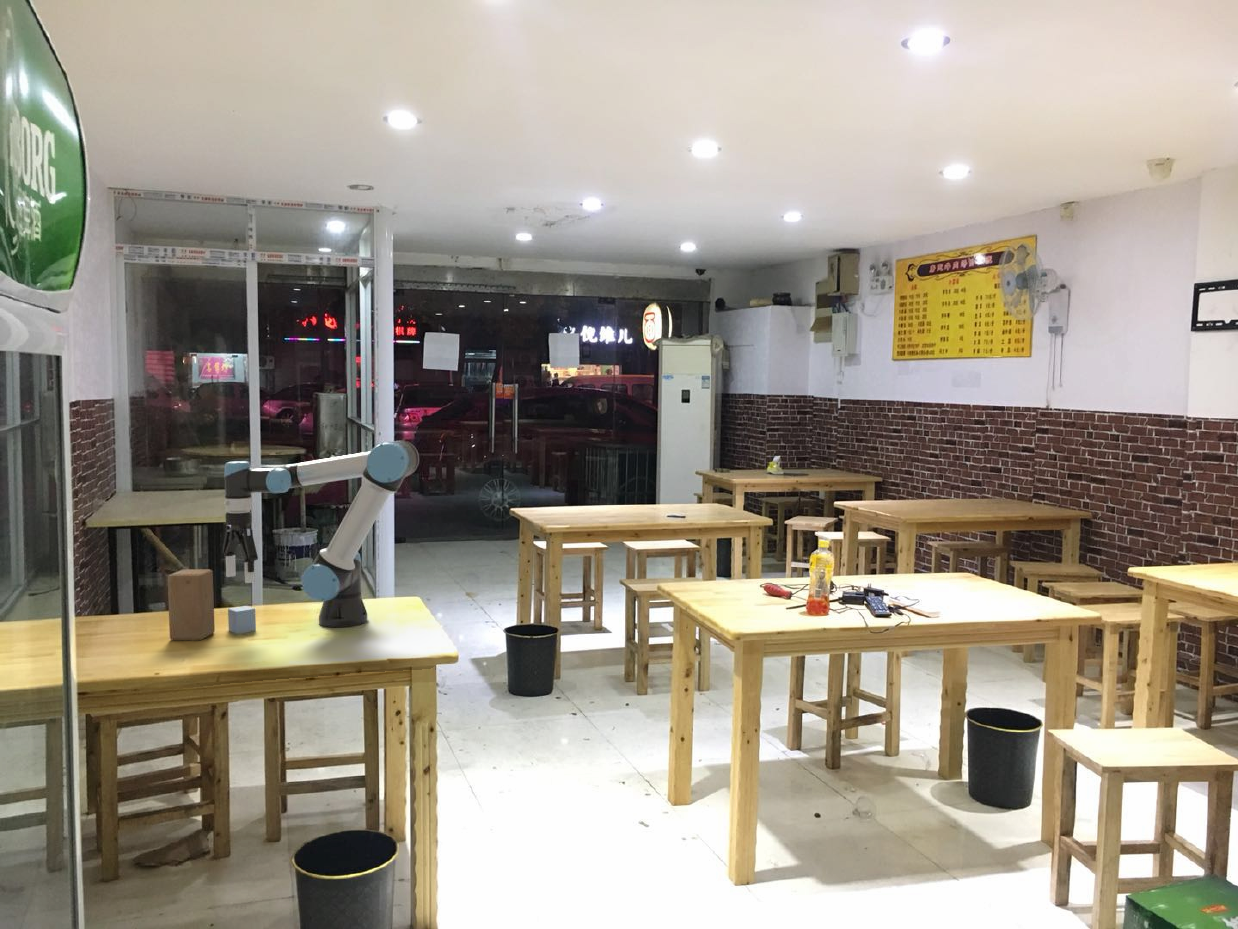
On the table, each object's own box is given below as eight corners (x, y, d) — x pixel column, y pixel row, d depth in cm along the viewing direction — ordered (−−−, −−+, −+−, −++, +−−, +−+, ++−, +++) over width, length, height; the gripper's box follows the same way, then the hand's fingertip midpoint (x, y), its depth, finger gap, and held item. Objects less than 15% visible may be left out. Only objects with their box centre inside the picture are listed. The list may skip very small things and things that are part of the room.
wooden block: (201, 641, 290) (199, 574, 289) (168, 641, 291) (166, 574, 289) (216, 632, 300) (213, 568, 299) (183, 632, 301) (181, 568, 299)
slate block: (247, 627, 307) (246, 605, 307) (255, 630, 303) (255, 608, 303) (228, 630, 303) (228, 608, 303) (236, 634, 299) (236, 611, 298)
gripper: (209, 508, 307) (211, 575, 308) (243, 516, 289) (245, 587, 290) (233, 506, 312) (235, 572, 313) (268, 514, 294) (270, 583, 296)
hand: (240, 579), depth 302 cm, fingers open, 13 cm apart
